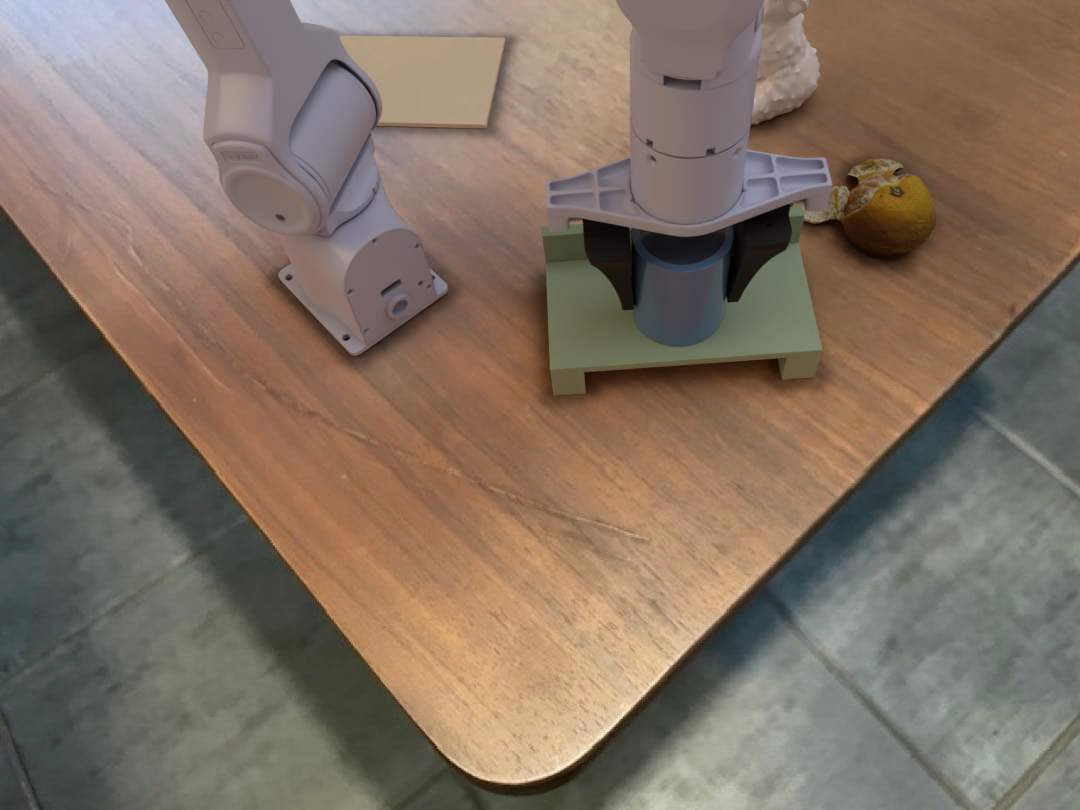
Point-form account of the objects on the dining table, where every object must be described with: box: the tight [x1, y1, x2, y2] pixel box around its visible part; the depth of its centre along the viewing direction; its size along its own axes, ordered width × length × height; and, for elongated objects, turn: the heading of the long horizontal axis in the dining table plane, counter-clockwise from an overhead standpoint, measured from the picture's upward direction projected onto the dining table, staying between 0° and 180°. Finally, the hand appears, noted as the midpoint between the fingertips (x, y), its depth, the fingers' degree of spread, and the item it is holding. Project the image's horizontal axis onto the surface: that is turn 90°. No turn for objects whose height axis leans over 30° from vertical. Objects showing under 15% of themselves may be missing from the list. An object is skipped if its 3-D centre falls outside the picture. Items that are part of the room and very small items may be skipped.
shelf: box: [541, 206, 823, 397], centre depth 59 cm, size 9×16×6 cm, turn 92°
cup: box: [631, 225, 734, 347], centre depth 56 cm, size 6×6×7 cm
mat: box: [338, 35, 507, 129], centre depth 76 cm, size 18×10×1 cm, turn 83°
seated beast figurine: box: [750, 0, 822, 127], centre depth 67 cm, size 10×9×12 cm
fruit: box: [791, 158, 937, 259], centre depth 63 cm, size 8×8×4 cm
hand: (679, 293), depth 57 cm, fingers closed on cup, 5 cm apart
